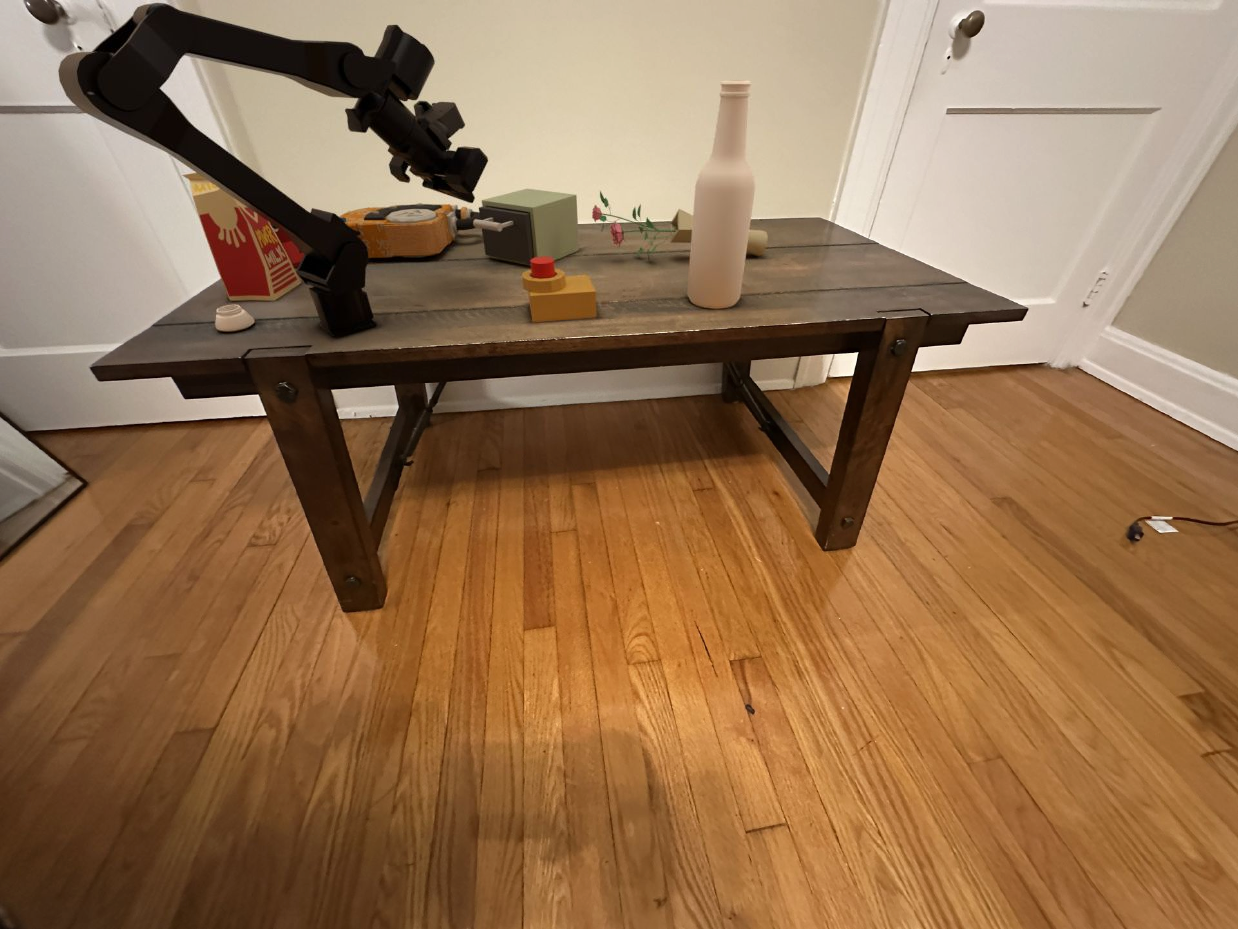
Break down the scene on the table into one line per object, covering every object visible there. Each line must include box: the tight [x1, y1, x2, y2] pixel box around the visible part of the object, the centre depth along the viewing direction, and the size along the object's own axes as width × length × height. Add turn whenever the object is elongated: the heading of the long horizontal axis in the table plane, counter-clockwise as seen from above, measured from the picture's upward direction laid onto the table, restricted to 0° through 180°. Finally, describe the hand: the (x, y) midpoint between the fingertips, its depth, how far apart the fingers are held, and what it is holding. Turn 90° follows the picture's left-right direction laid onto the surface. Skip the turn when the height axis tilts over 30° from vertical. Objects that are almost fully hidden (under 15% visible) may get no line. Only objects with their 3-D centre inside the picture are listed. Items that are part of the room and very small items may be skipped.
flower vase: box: [591, 190, 768, 264], centre depth 106 cm, size 12×12×35 cm
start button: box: [530, 257, 555, 279], centre depth 81 cm, size 4×4×2 cm
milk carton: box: [181, 172, 302, 302], centre depth 87 cm, size 9×9×20 cm
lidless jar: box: [214, 304, 255, 332], centre depth 80 cm, size 5×3×5 cm
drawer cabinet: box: [481, 188, 580, 267], centre depth 108 cm, size 14×13×11 cm
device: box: [339, 202, 480, 259], centre depth 113 cm, size 23×8×30 cm
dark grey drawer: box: [473, 206, 534, 264], centre depth 105 cm, size 17×12×9 cm
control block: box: [521, 268, 598, 323], centre depth 84 cm, size 11×8×6 cm
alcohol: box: [686, 79, 756, 310], centre depth 80 cm, size 9×9×30 cm
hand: (472, 200), depth 90 cm, fingers closed
